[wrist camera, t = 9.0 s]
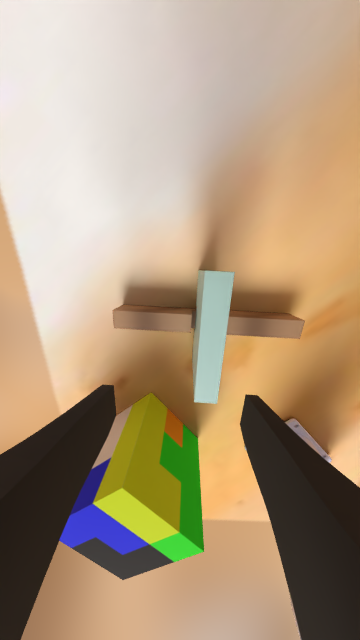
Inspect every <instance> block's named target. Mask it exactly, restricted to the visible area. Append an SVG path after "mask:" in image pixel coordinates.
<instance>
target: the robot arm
mask: <svg viewBox="0 0 360 640" xmlns="http://www.w3.org/2000/svg"><path fill="white" fill-rule="evenodd" d="M115 417H116V406H115V396H114V385H102V386H100V387H99V388H97V389H96V390H95V391H93V392H92V393H91V394H89V395H88V396H87V397H85V398H84V399H83V400H81V401H80V402H79V403H77V404H76V405H75V406H73V407H72V408H71V409H69V410H68V411H67V412H65V413H64V414H62V415H61V416H59V417H58V418H57V419H55V420H54V421H52V422H51V423H49V424H48V425H46V426H45V427H43V428H42V429H41V430H39V431H38V432H36V433H35V434H33V435H32V436H30V437H28V438H27V439H26V440H24V441H22V442H21V443H19V444H17V445H15V446H14V447H12V448H11V449H9V450H7V451H6V452H4V453H2V454H1V455H0V640H21V637H22V634H23V631H24V629H25V626H26V624H27V621H28V619H29V616H30V613H31V610H32V608H33V605H34V603H35V600H36V598H37V595H38V593H39V590H40V587H41V585H42V582H43V580H44V577H45V575H46V572H47V570H48V567H49V564H50V562H51V560H52V557H53V554H54V552H55V550H56V547H57V545H58V542H59V540H60V537H61V535H62V533H63V530H64V528H65V525H66V523H67V521H68V518H69V516H70V514H71V511H72V509H73V506H74V504H75V502H76V500H77V498H78V495H79V493H80V491H81V489H82V487H83V485H84V483H85V481H86V479H87V477H88V475H89V473H90V471H91V469H92V467H93V465H94V463H95V461H96V459H97V457H98V455H99V453H100V451H101V449H102V447H103V445H104V443H105V441H106V439H107V437H108V435H109V433H110V430H111V428H112V425H113V422H114V420H115ZM240 426H241V431H242V435H243V439H244V443H245V449H246V450H247V453H248V456H249V459H250V462H251V465H252V468H253V470H254V473H255V476H256V479H257V482H258V485H259V488H260V491H261V493H262V496H263V499H264V502H265V505H266V508H267V511H268V514H269V518H270V521H271V524H272V528H273V531H274V535H275V538H276V543H277V546H278V550H279V553H280V557H281V561H282V565H283V569H284V572H285V577H286V581H287V584H288V588H289V592H290V600H291V605H292V610H293V614H294V618H295V622H296V626H297V629H298V633H299V636H300V639H301V640H360V488H359V487H358V486H357V485H356V484H354V483H353V482H352V481H351V480H349V479H348V478H347V477H346V476H344V475H343V474H342V473H341V472H340V471H338V470H337V469H336V468H335V467H333V466H332V465H331V464H330V462H331V460H332V459H331V458H330V456H329V455H328V454H327V453H326V452H325V451H324V450H323V449H322V448H321V446H320V445H319V444H318V443H317V442H316V441H315V440H314V439H313V438H312V437H311V435H310V434H309V433H308V432H307V431H306V430H305V429H304V428H303V427H302V426H301V424H300V423H299V422H298V421H297V420H296V419H290V420H288V421H286V422H284V421H283V420H282V419H281V418H280V417H279V416H278V415H277V414H276V413H275V412H274V411H273V410H272V409H271V408H270V407H269V406H268V405H267V404H266V403H265V402H264V401H263V400H262V399H261V398H260V397H259V396H257V395H246V396H245V401H244V406H243V412H242V417H241V422H240Z"/></svg>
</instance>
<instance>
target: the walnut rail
mask: <svg viewBox="0 0 360 640" xmlns="http://www.w3.org/2000/svg"><path fill="white" fill-rule="evenodd" d="M113 322H114V328H120V329H137V330H155V331H172V332H190V333H191V328H195V322H196V309H192V308H173V307H153V306H134V305H122V306H120V307H118V308H116V309H114V310H113ZM304 322H305V321H304V320H302V319H300V318H297V317H295V316H293V315H291V314H287V313H268V312H249V311H230V310H229V318H228V325H227V333H226V335H242V336H260V337H277V338H294V339H300V336H301V333H302V329H303V326H304Z"/></svg>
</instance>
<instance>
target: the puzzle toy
mask: <svg viewBox="0 0 360 640" xmlns="http://www.w3.org/2000/svg"><path fill="white" fill-rule="evenodd" d="M59 541H61V542H63V543H64V544H66V545H67V546H69V547H71V548H72V549H74V550H75V551H77V552H79V553H80V554H82V555H84V556H85V557H87V558H88V559H90V560H92V561H93V562H95V563H96V564H98V565H100V566H101V567H103V568H105V569H106V570H108V571H109V572H111V573H113V574H114V575H116V576H117V577H119V578H120V579H122V580H124V579H127V578H130V577H133V576H136V575H139V574H141V573H144V572H147V571H150V570H153V569H156V568H159V567H161V566H164V565H167V564H170V563H173V562H176V561H179V560H181V559H184V558H187V557H190V556H193V555H196V554H199V553H201V552H204V543H203V525H202V507H201V489H200V470H199V452H198V438H197V437H196V436H195V435H194V434H193V433H192V432H191V431H190V430H189V429H188V428H187V427H186V426H185V425H184V424H183V423H182V422H181V421H180V420H179V419H178V418H177V417H176V416H175V415H174V414H173V413H172V412H171V411H170V410H169V409H168V408H167V407H166V406H165V405H164V404H163V403H162V402H161V401H160V400H159V399H158V398H157V397H156V396H155V395H154V394H153V393H149V394H148V395H146V396H145V397H143V398H142V399H140V400H139V401H137V402H136V403H134V404H133V405H131V406H130V407H128V408H127V409H126V410H124V411H123V412H121V413H120V414H118V415H117V416H116V417H115V420H114V422H113V425H112V428H111V430H110V433H109V435H108V437H107V439H106V441H105V443H104V445H103V447H102V449H101V451H100V453H99V455H98V457H97V459H96V461H95V463H94V465H93V467H92V469H91V471H90V473H89V475H88V477H87V479H86V481H85V483H84V485H83V487H82V489H81V491H80V493H79V495H78V498H77V500H76V502H75V504H74V506H73V509H72V511H71V514H70V516H69V518H68V521H67V523H66V525H65V528H64V530H63V533H62V535H61V537H60V540H59Z"/></svg>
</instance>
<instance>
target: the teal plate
mask: <svg viewBox="0 0 360 640" xmlns="http://www.w3.org/2000/svg"><path fill="white" fill-rule="evenodd" d="M234 273H235V272H225V271H206V270H198V283H197V298H196V307H197V308H196V322H195V329H194V340H193V354H192V363H193V386H194V402H200V403H214V404H217V400H218V392H219V385H220V377H221V370H222V362H223V355H224V347H225V340H226V333H227V325H228V318H229V310H230V303H231V295H232V288H233V280H234Z"/></svg>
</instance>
